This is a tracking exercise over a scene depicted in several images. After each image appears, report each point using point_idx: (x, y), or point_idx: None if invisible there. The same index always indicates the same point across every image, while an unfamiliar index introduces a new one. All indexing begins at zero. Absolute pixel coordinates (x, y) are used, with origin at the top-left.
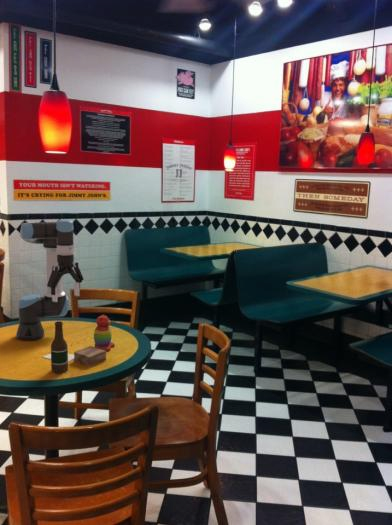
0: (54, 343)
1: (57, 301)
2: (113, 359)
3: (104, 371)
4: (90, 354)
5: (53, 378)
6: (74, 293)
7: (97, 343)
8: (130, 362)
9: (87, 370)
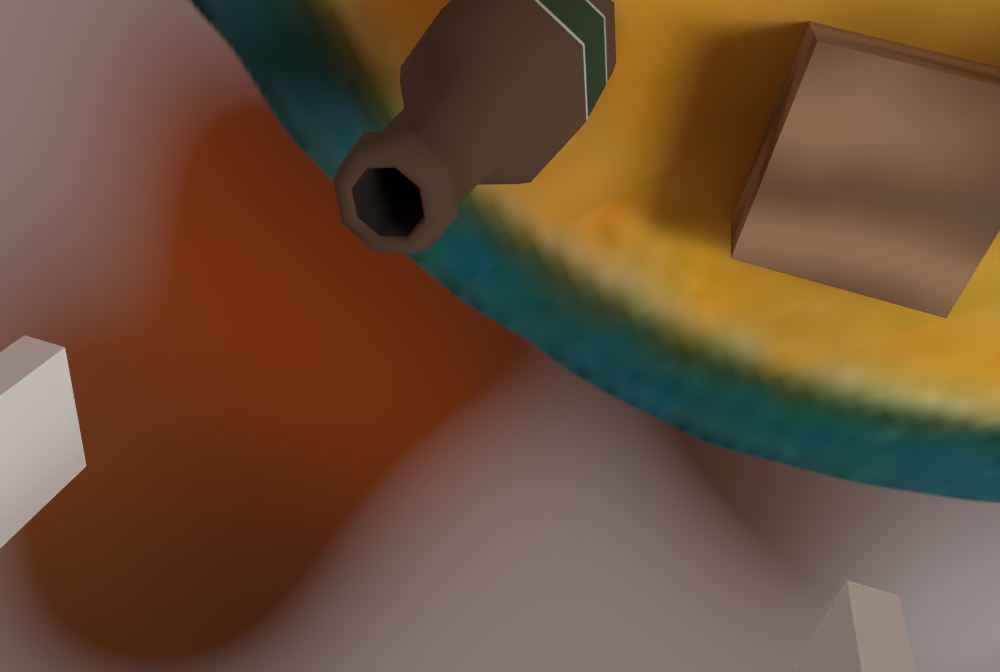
0: (404, 97)
1: (79, 469)
2: (956, 325)
3: (681, 357)
4: (800, 231)
5: None
6: (855, 640)
7: None
8: (920, 456)
9: (649, 241)
